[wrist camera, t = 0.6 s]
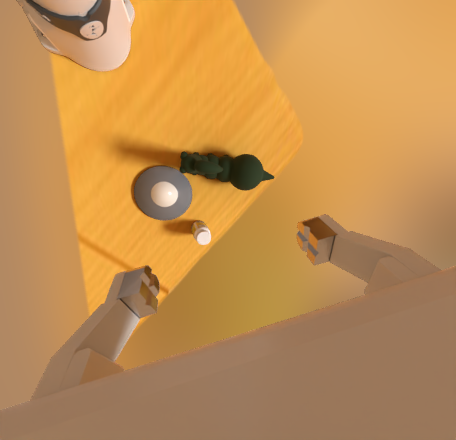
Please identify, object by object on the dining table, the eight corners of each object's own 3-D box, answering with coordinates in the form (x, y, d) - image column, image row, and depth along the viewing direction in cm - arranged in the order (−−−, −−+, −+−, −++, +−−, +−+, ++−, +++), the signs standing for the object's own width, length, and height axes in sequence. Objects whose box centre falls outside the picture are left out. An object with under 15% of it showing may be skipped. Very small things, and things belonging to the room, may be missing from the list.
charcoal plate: (121, 183, 46) (121, 183, 46) (173, 155, 48) (173, 155, 47) (156, 228, 53) (156, 229, 52) (201, 202, 55) (201, 203, 54)
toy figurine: (179, 178, 52) (258, 189, 59) (177, 188, 35) (290, 203, 41) (182, 143, 49) (265, 159, 56) (182, 135, 32) (302, 160, 39)
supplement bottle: (196, 237, 58) (201, 249, 50) (187, 226, 56) (191, 237, 48) (208, 228, 58) (215, 239, 51) (200, 217, 56) (206, 227, 49)
